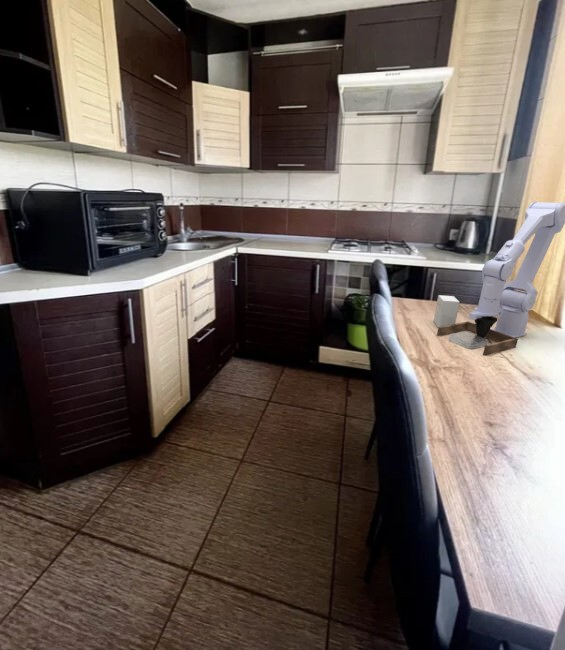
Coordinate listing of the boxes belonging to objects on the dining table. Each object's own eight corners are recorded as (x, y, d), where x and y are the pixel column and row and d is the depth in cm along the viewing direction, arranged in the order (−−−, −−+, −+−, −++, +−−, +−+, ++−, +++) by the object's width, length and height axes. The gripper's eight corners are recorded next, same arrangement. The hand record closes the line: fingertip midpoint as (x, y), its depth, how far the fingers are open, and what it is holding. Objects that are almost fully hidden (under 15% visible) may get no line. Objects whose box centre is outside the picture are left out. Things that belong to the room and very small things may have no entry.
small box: (454, 329, 124) (460, 301, 120) (437, 328, 125) (443, 300, 121) (448, 322, 131) (454, 295, 127) (433, 321, 132) (438, 294, 128)
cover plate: (464, 338, 117) (466, 331, 117) (486, 347, 111) (488, 339, 110) (448, 341, 114) (449, 334, 113) (469, 350, 107) (471, 343, 106)
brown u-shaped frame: (466, 329, 124) (467, 321, 123) (515, 347, 110) (518, 338, 109) (436, 335, 118) (438, 327, 117) (485, 355, 103) (487, 346, 102)
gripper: (492, 292, 116) (483, 330, 121) (464, 296, 110) (455, 336, 115) (513, 298, 111) (502, 337, 115) (485, 302, 104) (475, 343, 109)
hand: (480, 337), depth 115 cm, fingers closed
